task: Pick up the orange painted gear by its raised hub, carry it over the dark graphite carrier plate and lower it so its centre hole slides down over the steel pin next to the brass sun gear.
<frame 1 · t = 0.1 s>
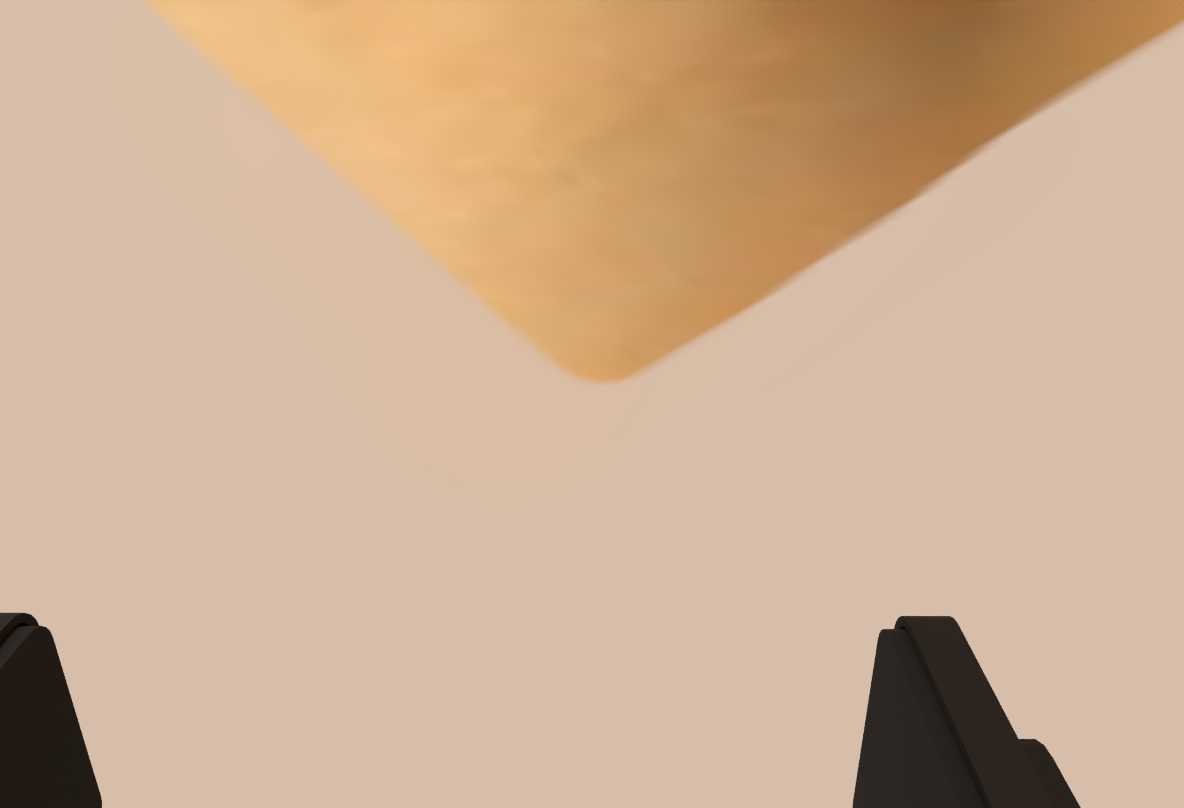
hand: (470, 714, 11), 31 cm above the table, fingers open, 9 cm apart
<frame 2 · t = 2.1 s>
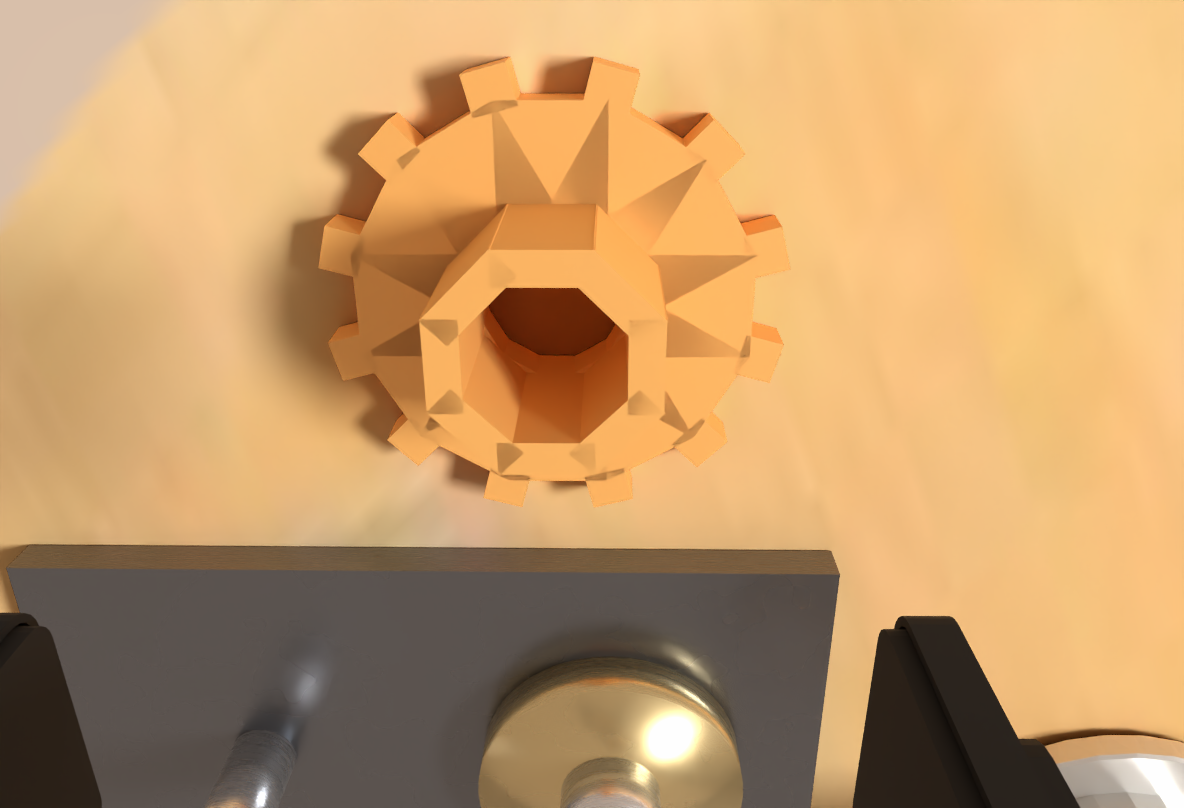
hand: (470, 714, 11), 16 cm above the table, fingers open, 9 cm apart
planet gear: (556, 291, 25), on the table
carrier plate: (443, 727, 32), on the table
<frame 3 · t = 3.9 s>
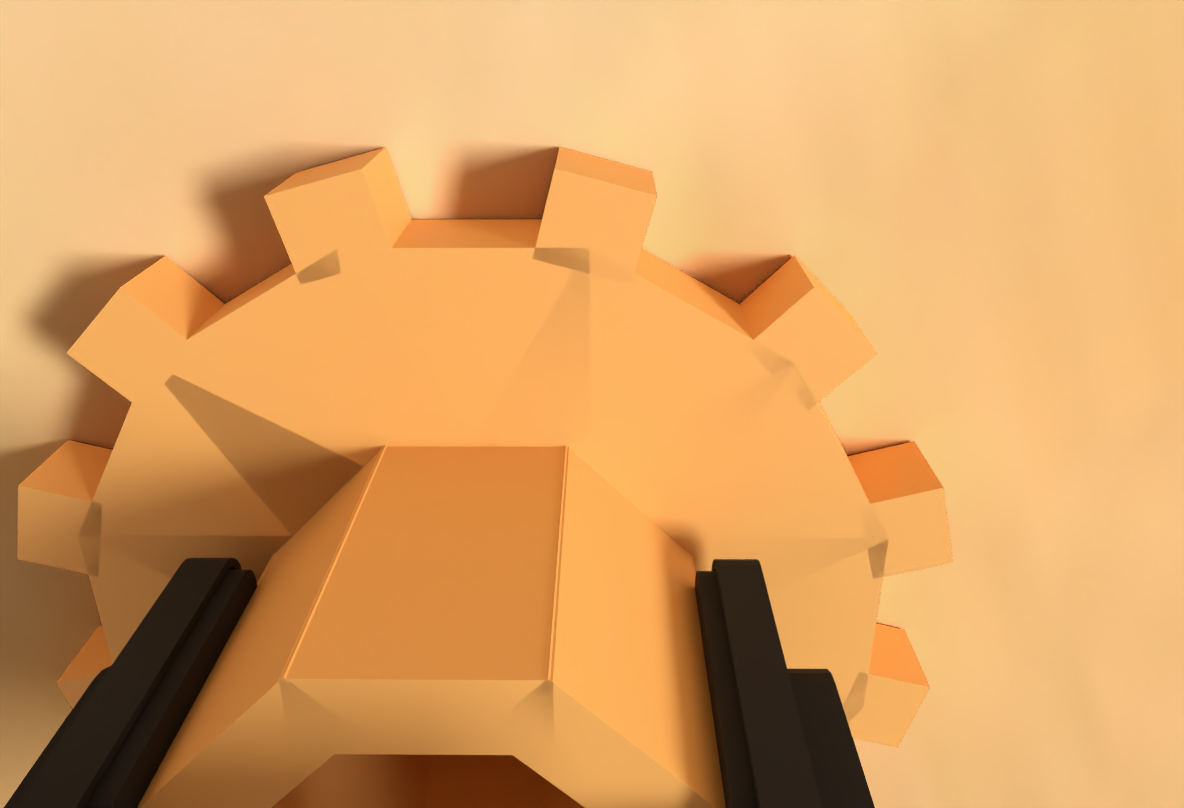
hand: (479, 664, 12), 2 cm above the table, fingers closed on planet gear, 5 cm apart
planet gear: (496, 570, 14), on the table, touching gripper
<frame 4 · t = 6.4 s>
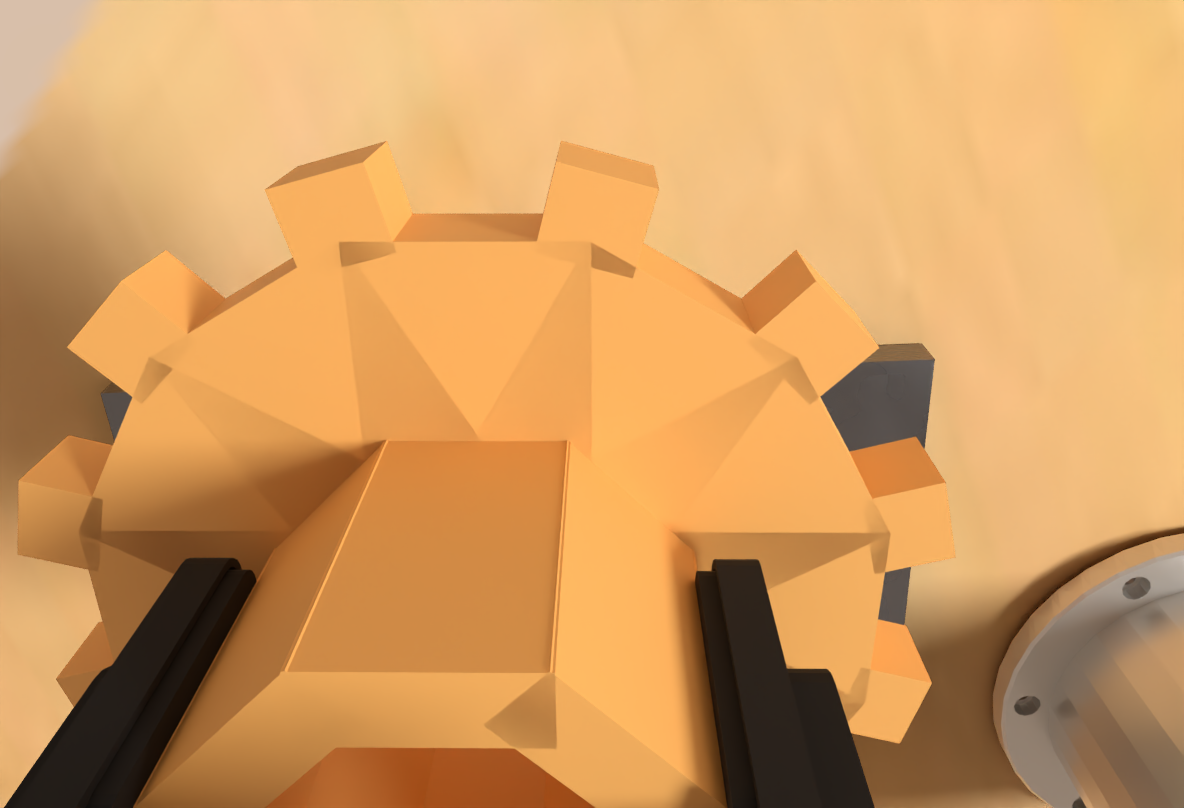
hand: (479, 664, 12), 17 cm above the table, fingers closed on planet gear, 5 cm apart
planet gear: (497, 566, 14), point 15 cm above the table, touching gripper
carrier plate: (533, 556, 32), on the table
when the fingers open (5 cm above the table, at t = 9.3 s): planet gear drops 2 cm, resting on carrier plate.
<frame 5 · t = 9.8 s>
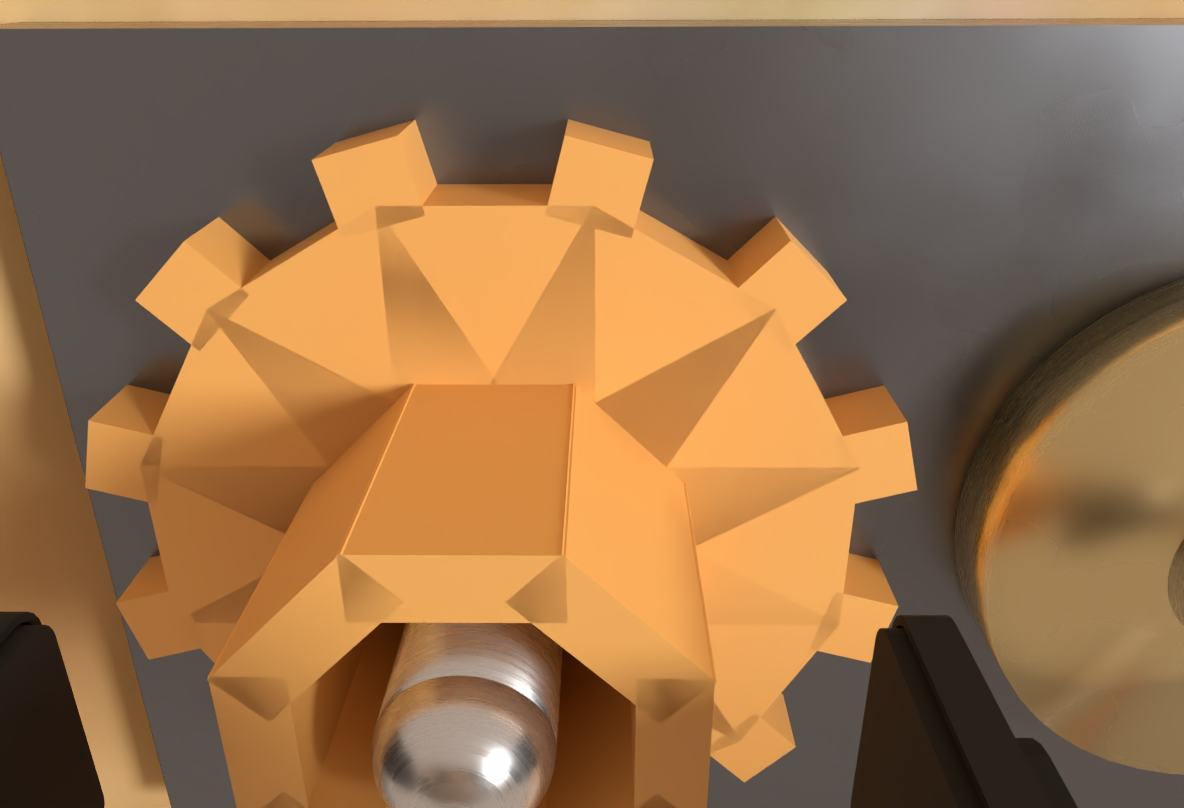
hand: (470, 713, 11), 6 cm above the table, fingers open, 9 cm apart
planet gear: (509, 505, 15), point 1 cm above the table, touching carrier plate
carrier plate: (842, 470, 16), on the table
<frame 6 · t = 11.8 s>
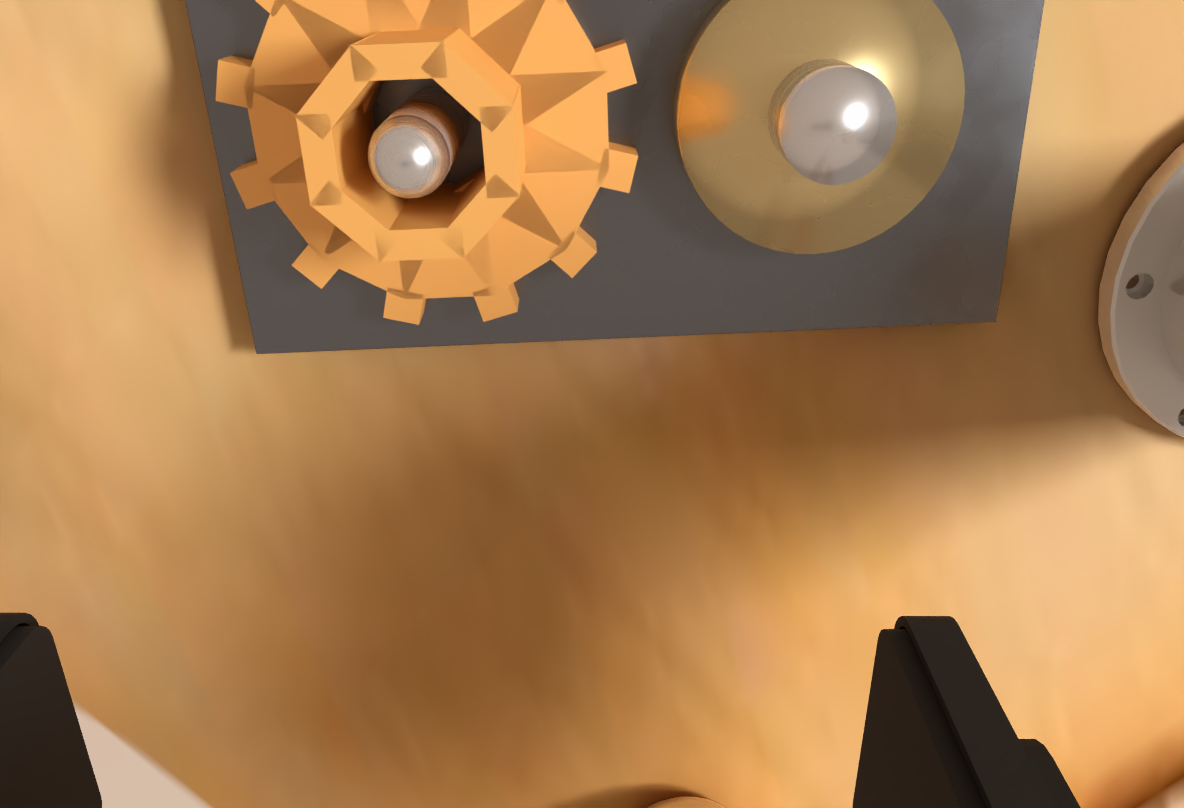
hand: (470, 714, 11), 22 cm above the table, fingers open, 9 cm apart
planet gear: (435, 121, 28), point 1 cm above the table, touching carrier plate
carrier plate: (619, 109, 29), on the table
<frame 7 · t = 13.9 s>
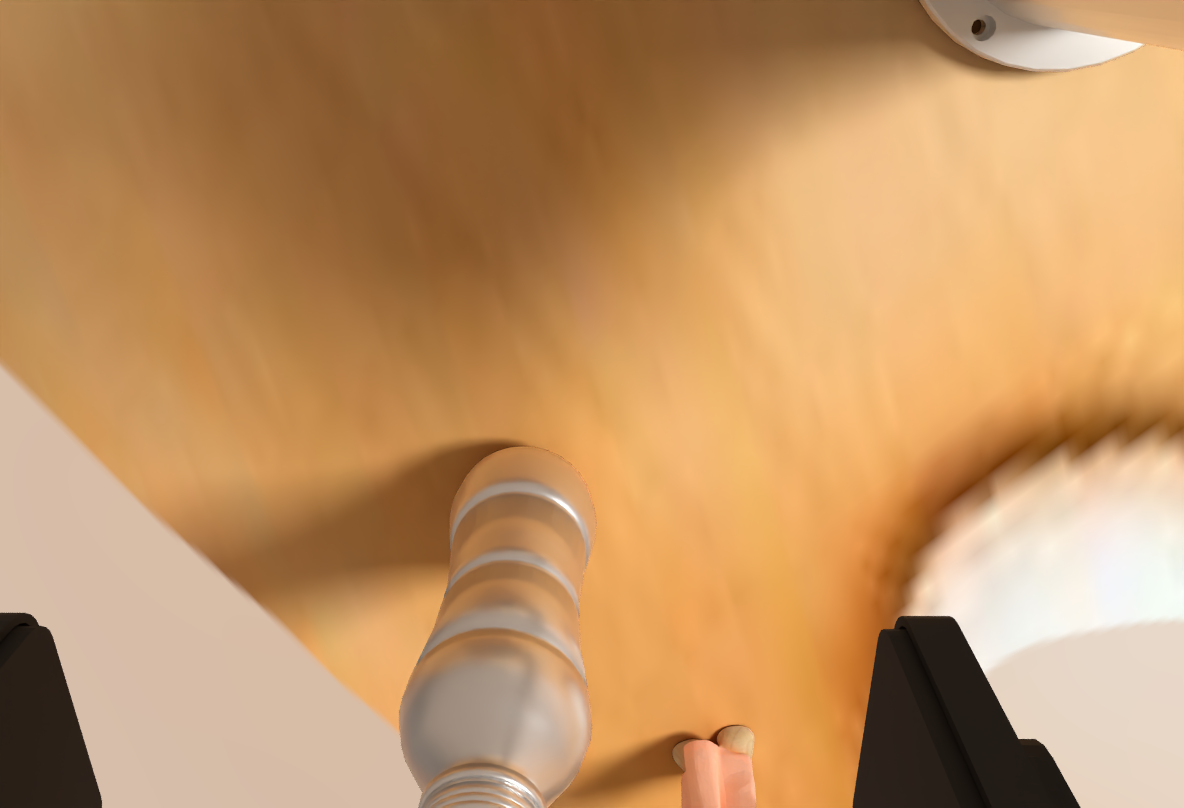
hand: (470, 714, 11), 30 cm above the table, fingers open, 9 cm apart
plastic bottle: (527, 491, 45), on the table
grandmother figurine: (705, 750, 52), on the table
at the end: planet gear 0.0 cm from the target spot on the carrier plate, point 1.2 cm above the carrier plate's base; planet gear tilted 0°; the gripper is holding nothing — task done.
